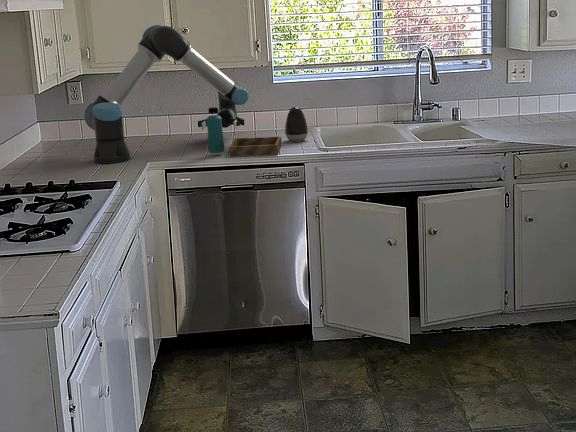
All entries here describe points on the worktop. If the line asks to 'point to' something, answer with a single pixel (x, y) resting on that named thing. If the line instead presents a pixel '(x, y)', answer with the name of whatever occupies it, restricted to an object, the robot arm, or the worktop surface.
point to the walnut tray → (255, 146)
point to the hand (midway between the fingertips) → (218, 126)
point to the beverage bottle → (215, 132)
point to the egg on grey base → (296, 125)
